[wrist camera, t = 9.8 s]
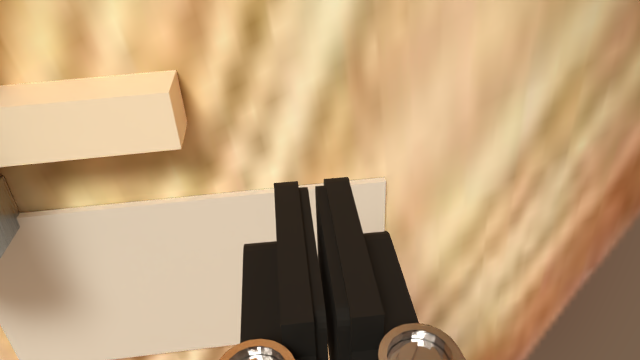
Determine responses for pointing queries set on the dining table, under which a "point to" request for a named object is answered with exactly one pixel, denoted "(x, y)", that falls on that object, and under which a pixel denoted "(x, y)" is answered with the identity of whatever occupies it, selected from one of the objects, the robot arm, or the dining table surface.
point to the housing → (7, 216)
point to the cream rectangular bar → (91, 118)
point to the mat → (141, 272)
